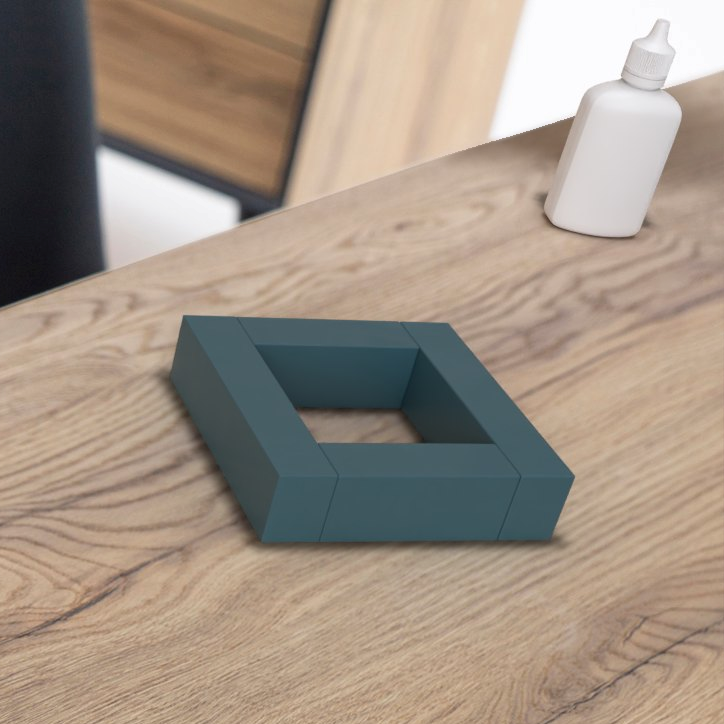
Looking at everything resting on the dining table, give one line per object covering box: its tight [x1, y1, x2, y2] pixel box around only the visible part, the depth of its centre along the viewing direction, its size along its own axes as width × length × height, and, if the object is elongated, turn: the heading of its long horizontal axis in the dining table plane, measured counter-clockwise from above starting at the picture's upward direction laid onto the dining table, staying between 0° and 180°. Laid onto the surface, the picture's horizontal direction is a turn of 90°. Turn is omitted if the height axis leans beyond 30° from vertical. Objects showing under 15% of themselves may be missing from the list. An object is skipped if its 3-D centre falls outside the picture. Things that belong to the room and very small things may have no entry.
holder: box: [169, 314, 576, 543], centre depth 74 cm, size 13×13×4 cm
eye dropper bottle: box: [543, 18, 683, 238], centre depth 99 cm, size 4×6×12 cm
